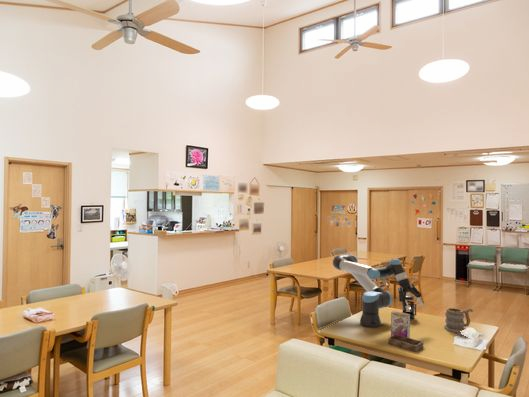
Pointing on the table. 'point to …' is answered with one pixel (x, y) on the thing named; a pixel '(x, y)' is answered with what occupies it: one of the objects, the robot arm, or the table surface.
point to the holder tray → (405, 343)
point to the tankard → (456, 319)
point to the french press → (410, 297)
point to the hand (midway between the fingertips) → (415, 308)
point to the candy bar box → (400, 324)
